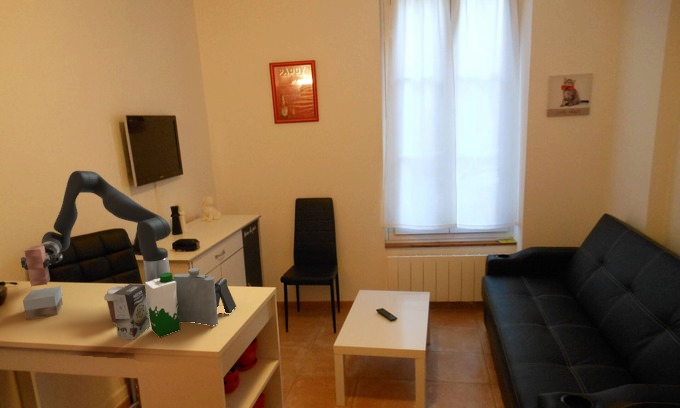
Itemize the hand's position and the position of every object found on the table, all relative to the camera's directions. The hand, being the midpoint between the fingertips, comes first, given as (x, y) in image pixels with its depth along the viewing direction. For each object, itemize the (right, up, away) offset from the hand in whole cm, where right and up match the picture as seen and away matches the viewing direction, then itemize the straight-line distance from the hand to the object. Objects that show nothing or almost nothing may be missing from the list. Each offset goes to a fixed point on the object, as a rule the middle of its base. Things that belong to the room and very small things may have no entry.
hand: (35, 266), depth 160 cm
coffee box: (+42, -21, -11) cm, 48 cm away
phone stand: (+68, -17, +4) cm, 70 cm away
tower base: (-1, -19, +7) cm, 20 cm away
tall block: (-1, -7, +4) cm, 8 cm away
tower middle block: (-1, -15, +6) cm, 16 cm away
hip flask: (+62, -19, -4) cm, 65 cm away
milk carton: (+52, -21, -10) cm, 57 cm away
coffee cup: (+33, -20, -2) cm, 38 cm away
